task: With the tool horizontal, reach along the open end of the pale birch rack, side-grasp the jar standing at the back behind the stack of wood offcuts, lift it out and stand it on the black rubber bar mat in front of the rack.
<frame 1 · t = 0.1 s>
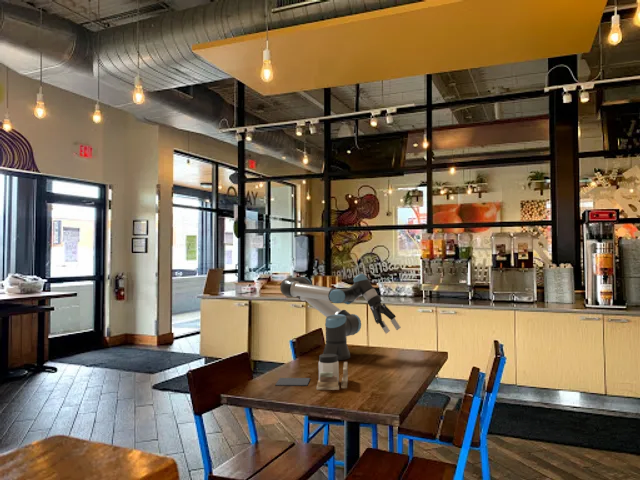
hand: (393, 330, 260), 15 cm above the table, tool tilted 35°, fingers open, 13 cm apart
rack: (328, 382, 212), on the table
mat: (293, 382, 213), on the table
jar: (328, 383, 212), on the table
offcuts: (327, 379, 201), point 4 cm above the table
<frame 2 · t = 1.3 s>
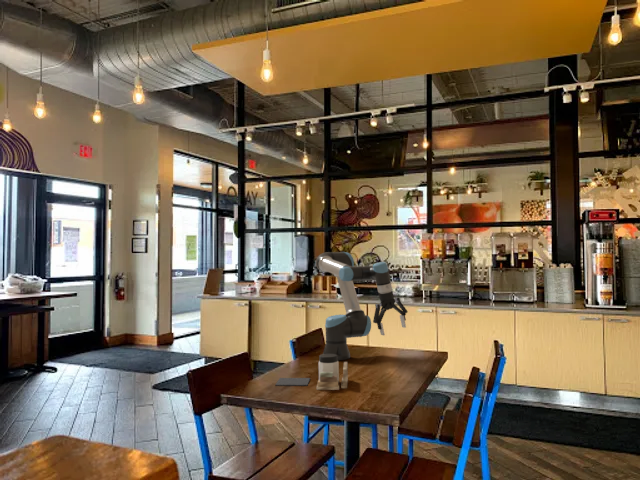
hand: (393, 331, 249), 17 cm above the table, tool pointing down, fingers open, 13 cm apart
nothing on the table moved.
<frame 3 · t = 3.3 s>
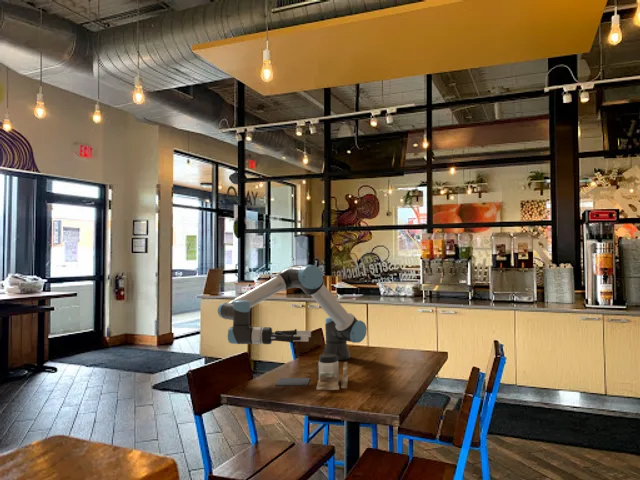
hand: (309, 335, 213), 21 cm above the table, tool horizontal, fingers open, 13 cm apart
nothing on the table moved.
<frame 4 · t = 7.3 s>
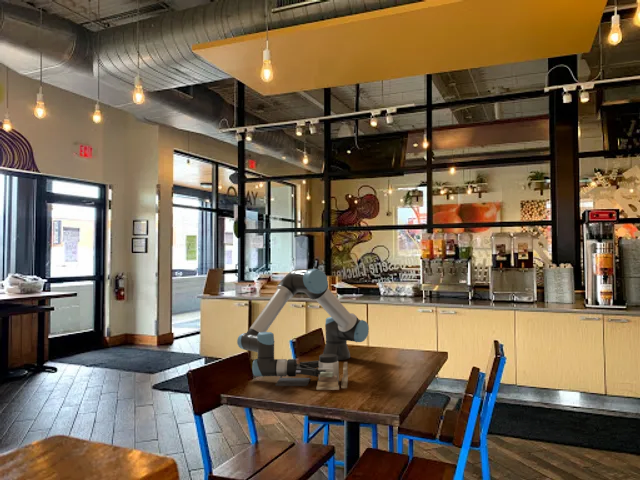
hand: (334, 368, 212), 6 cm above the table, tool horizontal, fingers open, 13 cm apart
nothing on the table moved.
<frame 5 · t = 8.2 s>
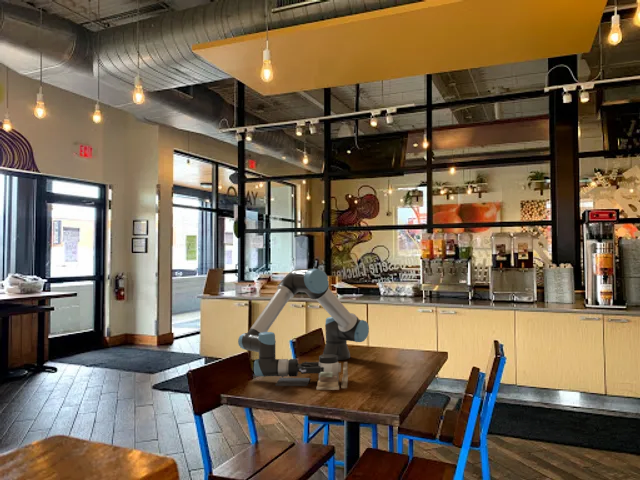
hand: (340, 367, 212), 7 cm above the table, tool horizontal, fingers closed on jar, 4 cm apart
jar: (328, 383, 210), on the table, touching gripper
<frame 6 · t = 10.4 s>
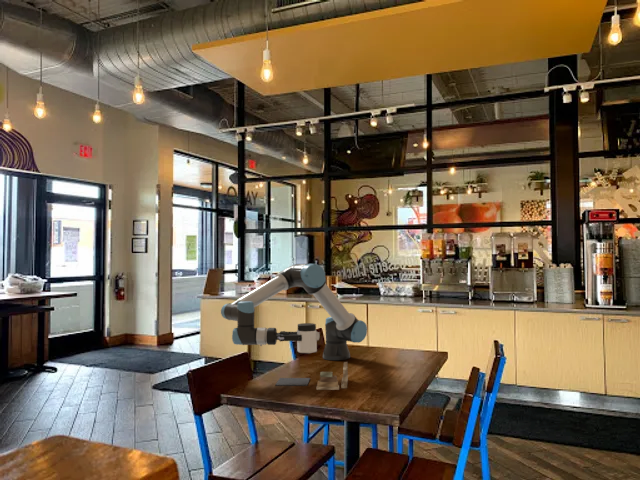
hand: (319, 336, 212), 21 cm above the table, tool horizontal, fingers closed on jar, 4 cm apart
jar: (306, 351, 211), point 14 cm above the table, touching gripper
when the fingers open (7 cm above the table, at t = 12.6 s): jar stays where it is, resting on mat.
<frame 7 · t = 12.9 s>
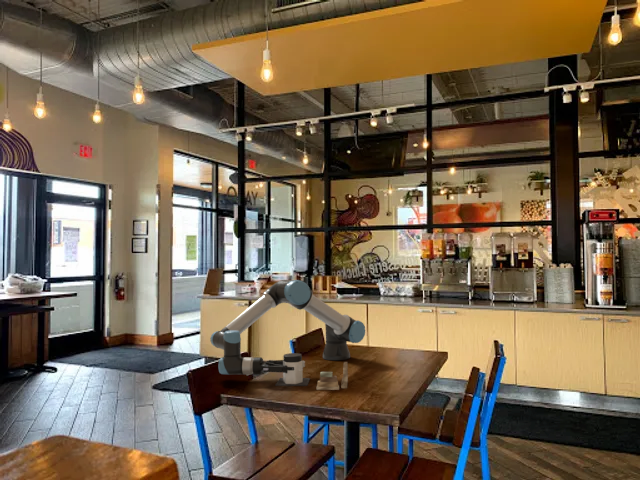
hand: (303, 365, 213), 7 cm above the table, tool horizontal, fingers open, 8 cm apart
jar: (292, 382, 211), resting on mat
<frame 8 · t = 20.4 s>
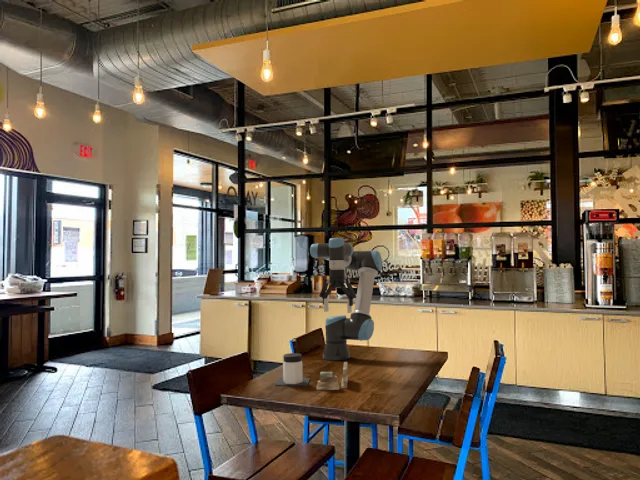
hand: (337, 312, 235), 29 cm above the table, tool pointing down, fingers open, 13 cm apart
nothing on the table moved.
at the end: jar inside the target area on the mat (1.4 cm from its centre), point 0.3 cm above the mat's base; jar tilted 0°; the gripper is holding nothing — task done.
